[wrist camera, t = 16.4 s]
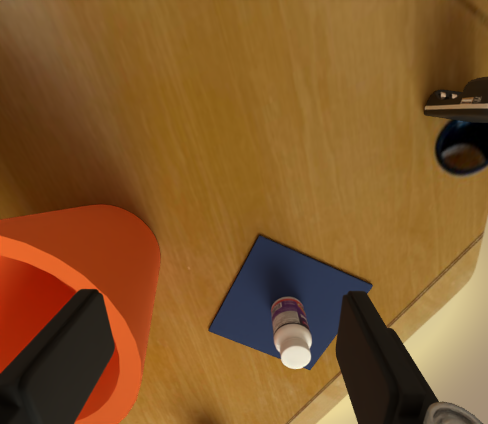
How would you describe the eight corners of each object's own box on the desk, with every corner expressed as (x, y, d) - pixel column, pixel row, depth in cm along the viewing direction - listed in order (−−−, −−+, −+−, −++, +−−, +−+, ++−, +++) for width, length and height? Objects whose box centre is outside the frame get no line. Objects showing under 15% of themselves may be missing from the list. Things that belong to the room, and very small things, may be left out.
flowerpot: (219, 236, 42) (193, 334, 24) (142, 340, 50) (75, 477, 31) (67, 138, 38) (-111, 163, 19) (6, 267, 45) (-166, 376, 27)
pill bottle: (305, 319, 47) (318, 370, 37) (273, 324, 47) (278, 375, 38) (301, 293, 45) (314, 339, 36) (268, 297, 45) (272, 344, 36)
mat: (259, 234, 42) (259, 235, 42) (372, 284, 44) (373, 285, 44) (208, 329, 48) (208, 331, 48) (309, 368, 51) (310, 370, 50)
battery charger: (485, 90, 35) (590, 80, 24) (472, 122, 36) (567, 126, 25) (430, 82, 34) (511, 68, 24) (419, 114, 36) (491, 115, 25)
